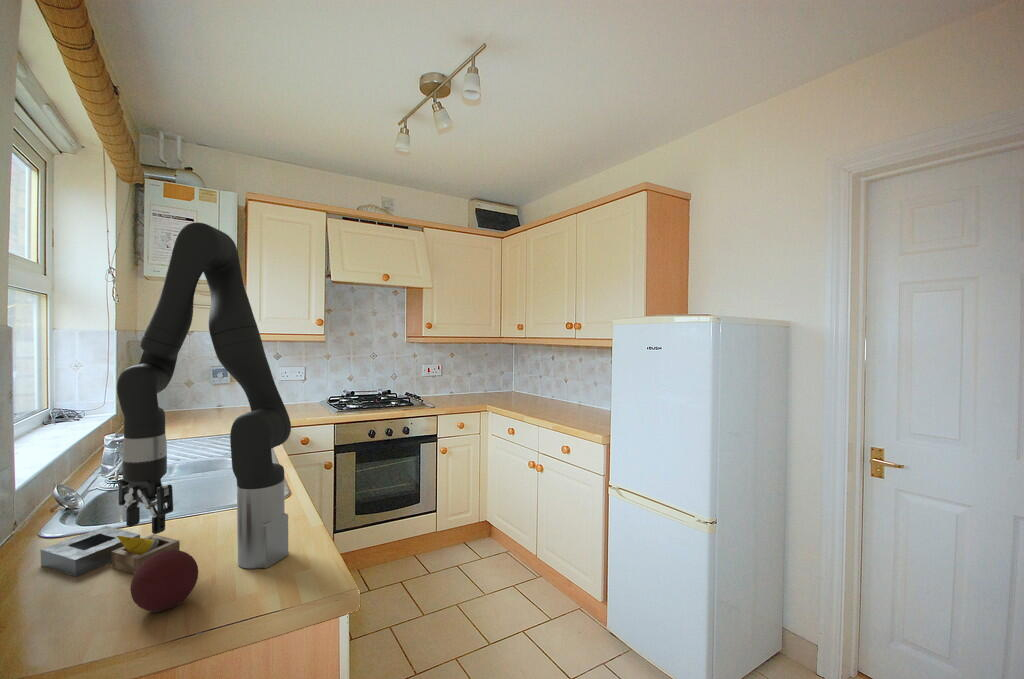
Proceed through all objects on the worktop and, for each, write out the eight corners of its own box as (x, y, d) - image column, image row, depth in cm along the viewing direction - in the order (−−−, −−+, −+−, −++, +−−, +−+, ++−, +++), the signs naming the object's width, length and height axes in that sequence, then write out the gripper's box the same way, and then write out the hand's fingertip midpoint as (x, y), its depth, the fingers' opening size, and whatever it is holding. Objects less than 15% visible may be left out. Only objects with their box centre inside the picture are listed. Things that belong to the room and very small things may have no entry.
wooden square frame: (179, 555, 102) (179, 540, 102) (138, 575, 94) (137, 558, 94) (154, 549, 105) (153, 534, 105) (111, 567, 97) (111, 551, 97)
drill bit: (159, 566, 98) (116, 544, 93) (143, 573, 100) (100, 551, 95) (174, 542, 103) (133, 520, 98) (158, 550, 104) (117, 528, 99)
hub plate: (140, 549, 105) (140, 534, 105) (75, 576, 94) (75, 560, 93) (106, 540, 109) (106, 525, 109) (41, 565, 98) (40, 549, 97)
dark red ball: (124, 608, 84) (123, 554, 83) (189, 584, 91) (188, 535, 91) (138, 632, 77) (137, 574, 77) (206, 604, 85) (205, 551, 85)
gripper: (185, 455, 100) (185, 527, 101) (143, 446, 105) (143, 516, 106) (147, 465, 93) (148, 543, 94) (104, 455, 98) (104, 529, 99)
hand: (145, 528), depth 100 cm, fingers open, 8 cm apart
